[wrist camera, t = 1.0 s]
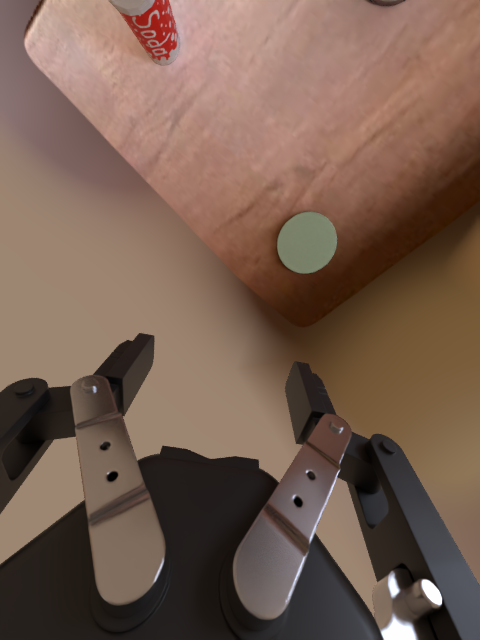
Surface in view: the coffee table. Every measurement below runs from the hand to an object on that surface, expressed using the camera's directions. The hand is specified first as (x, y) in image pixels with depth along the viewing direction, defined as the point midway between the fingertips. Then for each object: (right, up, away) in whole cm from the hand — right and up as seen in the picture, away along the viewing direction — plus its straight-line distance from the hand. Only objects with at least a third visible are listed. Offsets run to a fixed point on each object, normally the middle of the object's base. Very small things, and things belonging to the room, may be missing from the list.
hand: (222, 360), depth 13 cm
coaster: (+11, +14, +23) cm, 29 cm away
